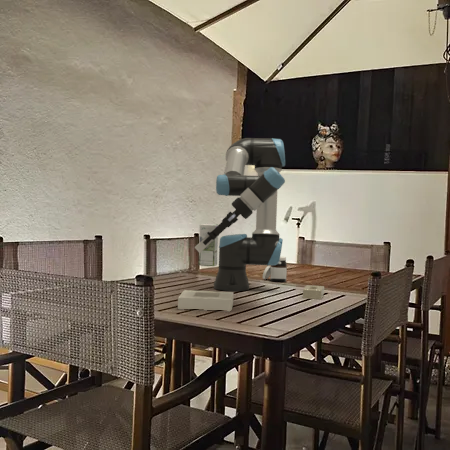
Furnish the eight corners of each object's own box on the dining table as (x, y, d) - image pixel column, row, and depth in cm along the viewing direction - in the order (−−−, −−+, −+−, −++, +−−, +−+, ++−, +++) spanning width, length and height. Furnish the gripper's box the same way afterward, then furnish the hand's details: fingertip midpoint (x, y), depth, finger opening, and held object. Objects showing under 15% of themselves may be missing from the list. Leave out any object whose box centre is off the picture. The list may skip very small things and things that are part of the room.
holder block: (177, 309, 183) (178, 297, 183) (183, 301, 199) (184, 290, 199) (231, 311, 182) (231, 299, 182) (233, 303, 198) (233, 292, 198)
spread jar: (287, 282, 256) (288, 258, 256) (263, 282, 256) (263, 257, 256) (284, 279, 268) (285, 256, 268) (261, 278, 268) (262, 255, 268)
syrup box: (217, 265, 192) (218, 224, 192) (214, 266, 186) (215, 224, 186) (201, 264, 193) (202, 223, 193) (198, 265, 187) (199, 223, 187)
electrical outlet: (324, 284, 230) (321, 290, 212) (323, 293, 230) (321, 300, 212) (307, 282, 231) (303, 289, 214) (306, 292, 232) (302, 299, 214)
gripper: (253, 212, 179) (202, 259, 180) (253, 211, 198) (207, 254, 199) (238, 195, 179) (187, 243, 180) (239, 196, 198) (193, 239, 200)
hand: (198, 249), depth 190 cm, fingers closed on syrup box, 6 cm apart
